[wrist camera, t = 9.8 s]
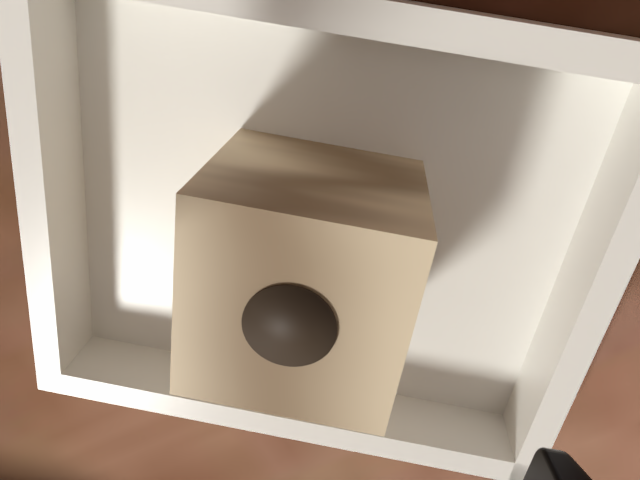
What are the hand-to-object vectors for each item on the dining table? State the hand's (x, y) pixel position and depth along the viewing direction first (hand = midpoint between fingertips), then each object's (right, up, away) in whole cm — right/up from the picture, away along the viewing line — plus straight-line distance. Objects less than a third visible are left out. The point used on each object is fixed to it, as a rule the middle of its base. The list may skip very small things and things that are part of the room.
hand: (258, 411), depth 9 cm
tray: (+1, +3, +7) cm, 8 cm away
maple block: (+1, +3, +7) cm, 8 cm away
